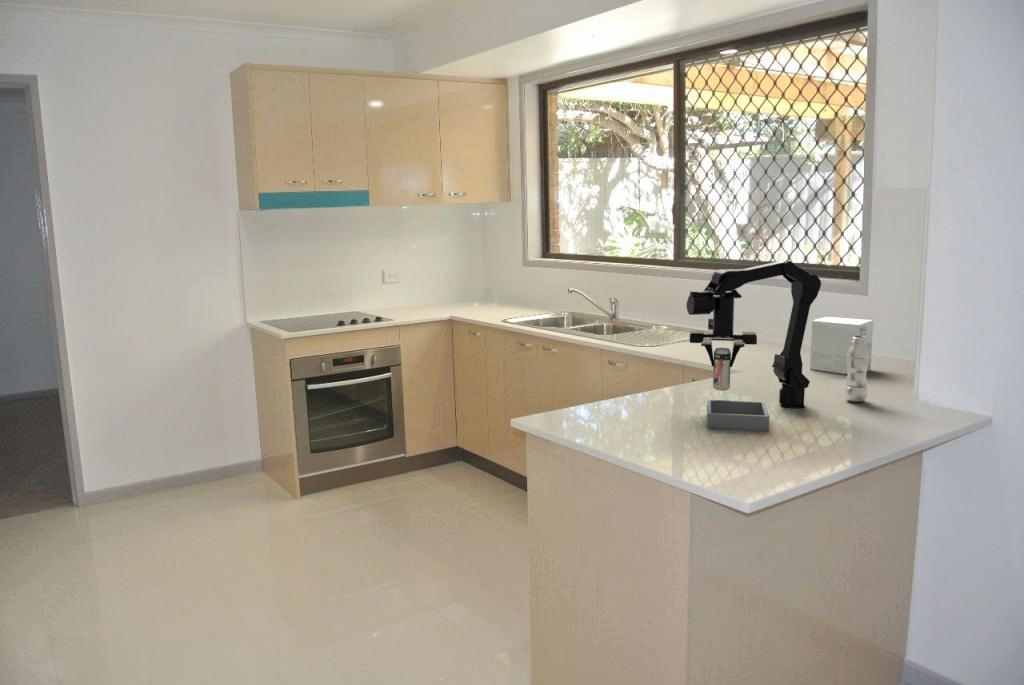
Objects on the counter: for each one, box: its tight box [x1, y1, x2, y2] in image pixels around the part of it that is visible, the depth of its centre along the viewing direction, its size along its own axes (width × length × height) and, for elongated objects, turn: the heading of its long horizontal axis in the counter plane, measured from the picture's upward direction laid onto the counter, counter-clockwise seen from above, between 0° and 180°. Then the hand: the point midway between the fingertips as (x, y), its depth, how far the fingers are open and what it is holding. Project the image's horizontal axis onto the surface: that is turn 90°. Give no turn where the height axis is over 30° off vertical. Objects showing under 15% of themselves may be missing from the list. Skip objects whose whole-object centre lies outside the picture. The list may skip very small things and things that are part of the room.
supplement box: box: [809, 316, 874, 375], centre depth 288 cm, size 17×13×18 cm
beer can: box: [712, 347, 732, 392], centre depth 236 cm, size 5×5×12 cm
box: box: [706, 399, 770, 432], centre depth 225 cm, size 16×16×4 cm
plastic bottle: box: [843, 336, 870, 403], centre depth 243 cm, size 6×7×20 cm
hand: (722, 366), depth 236 cm, fingers closed on beer can, 5 cm apart
